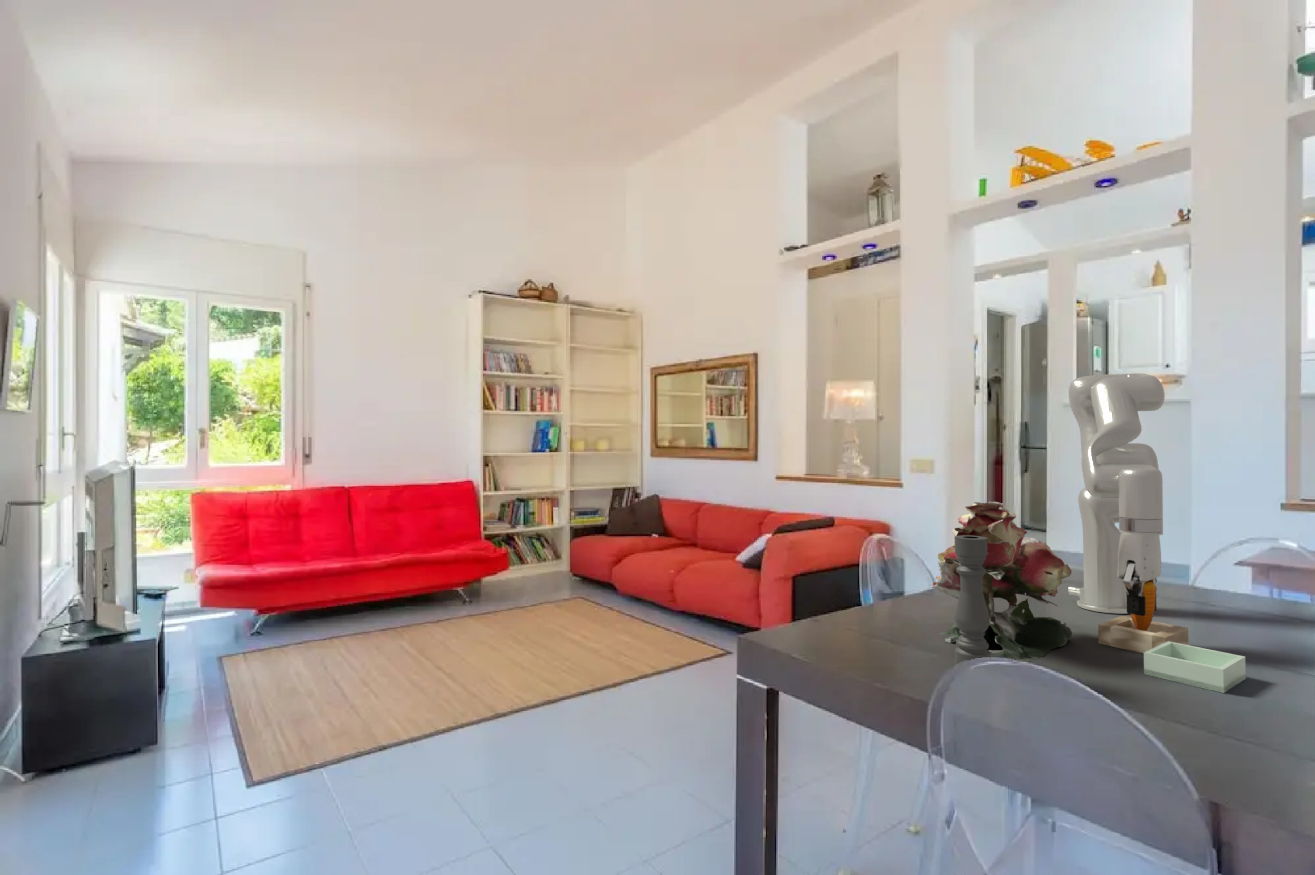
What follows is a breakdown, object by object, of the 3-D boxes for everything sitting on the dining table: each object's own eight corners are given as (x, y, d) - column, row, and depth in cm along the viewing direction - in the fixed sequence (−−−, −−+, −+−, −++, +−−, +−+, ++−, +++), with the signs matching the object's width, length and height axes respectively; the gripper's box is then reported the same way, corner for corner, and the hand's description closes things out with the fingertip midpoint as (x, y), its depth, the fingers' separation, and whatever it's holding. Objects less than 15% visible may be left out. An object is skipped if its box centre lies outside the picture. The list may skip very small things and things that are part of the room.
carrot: (1153, 632, 142) (1152, 562, 142) (1159, 639, 138) (1158, 566, 138) (1125, 630, 144) (1124, 560, 144) (1130, 636, 140) (1129, 565, 140)
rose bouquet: (1083, 637, 147) (1081, 500, 147) (1028, 666, 128) (1025, 510, 128) (967, 614, 167) (966, 494, 167) (905, 637, 148) (903, 502, 148)
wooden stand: (1098, 643, 142) (1098, 624, 142) (1122, 633, 149) (1122, 615, 149) (1165, 658, 132) (1165, 637, 132) (1188, 647, 139) (1188, 627, 139)
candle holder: (948, 663, 130) (946, 535, 130) (979, 662, 131) (977, 534, 131) (966, 674, 124) (963, 540, 124) (997, 673, 125) (995, 539, 125)
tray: (1144, 674, 123) (1143, 652, 123) (1168, 661, 130) (1168, 641, 130) (1223, 693, 114) (1223, 669, 114) (1245, 679, 120) (1245, 656, 120)
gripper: (1136, 520, 149) (1137, 602, 149) (1102, 528, 139) (1103, 615, 139) (1177, 524, 142) (1178, 609, 143) (1144, 532, 133) (1145, 623, 133)
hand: (1141, 611), depth 141 cm, fingers closed on carrot, 4 cm apart
